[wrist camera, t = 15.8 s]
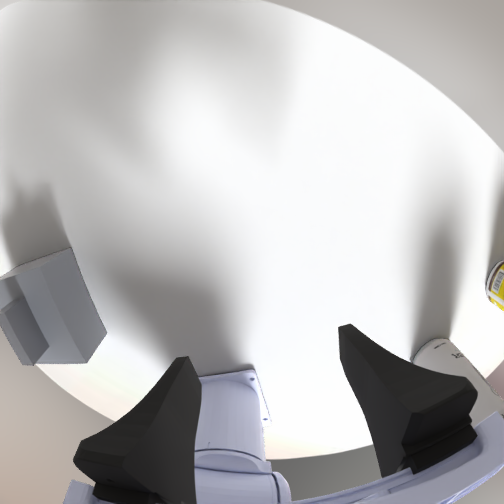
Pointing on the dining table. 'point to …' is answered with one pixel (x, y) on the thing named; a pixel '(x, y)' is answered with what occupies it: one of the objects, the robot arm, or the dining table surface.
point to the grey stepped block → (49, 312)
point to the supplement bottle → (496, 285)
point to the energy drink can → (455, 363)
